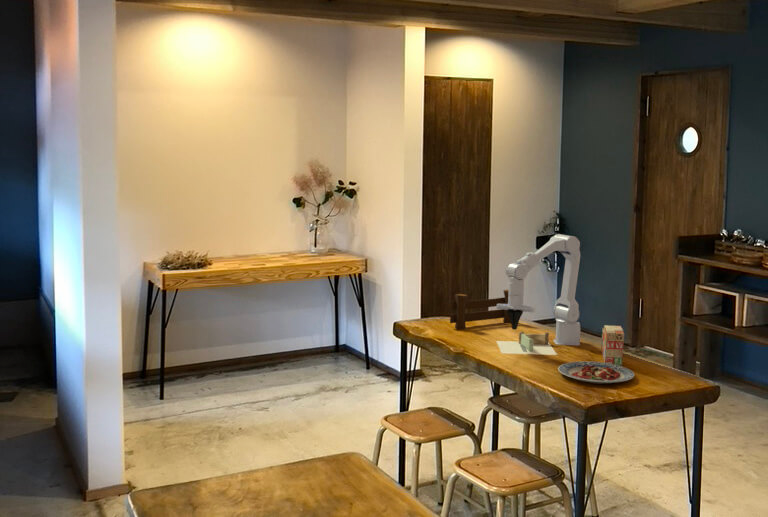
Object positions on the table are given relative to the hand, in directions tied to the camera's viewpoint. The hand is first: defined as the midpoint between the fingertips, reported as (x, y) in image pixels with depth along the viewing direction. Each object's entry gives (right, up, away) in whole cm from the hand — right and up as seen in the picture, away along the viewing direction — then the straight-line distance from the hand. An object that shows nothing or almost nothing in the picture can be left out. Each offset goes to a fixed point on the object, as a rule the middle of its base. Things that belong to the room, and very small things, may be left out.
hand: (514, 328), depth 333 cm
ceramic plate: (+23, -14, -35) cm, 44 cm away
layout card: (+5, -8, +3) cm, 10 cm away
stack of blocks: (+35, -11, -8) cm, 38 cm away
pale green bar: (+5, -7, +2) cm, 9 cm away
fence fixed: (+9, -7, +9) cm, 15 cm away
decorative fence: (-7, -2, +43) cm, 44 cm away
